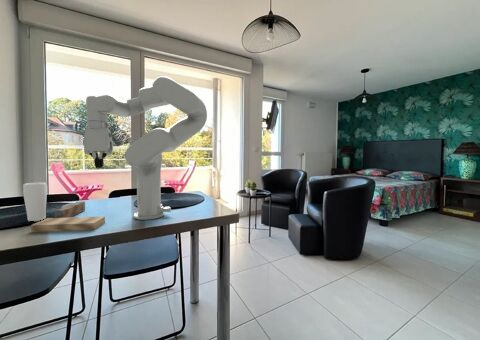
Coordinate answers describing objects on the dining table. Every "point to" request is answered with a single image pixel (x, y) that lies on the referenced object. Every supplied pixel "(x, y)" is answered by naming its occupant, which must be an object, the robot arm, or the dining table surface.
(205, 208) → the dining table surface
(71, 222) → the board
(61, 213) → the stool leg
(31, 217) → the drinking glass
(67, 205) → the stop block
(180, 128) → the robot arm
